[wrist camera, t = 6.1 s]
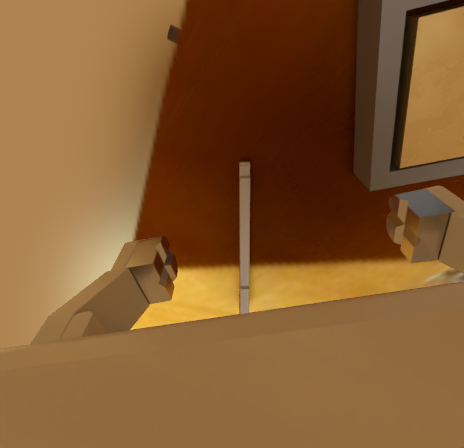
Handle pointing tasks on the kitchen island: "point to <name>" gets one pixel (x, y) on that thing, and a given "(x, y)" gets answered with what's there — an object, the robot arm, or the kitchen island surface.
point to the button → (430, 89)
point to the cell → (173, 33)
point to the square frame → (385, 98)
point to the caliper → (244, 234)
